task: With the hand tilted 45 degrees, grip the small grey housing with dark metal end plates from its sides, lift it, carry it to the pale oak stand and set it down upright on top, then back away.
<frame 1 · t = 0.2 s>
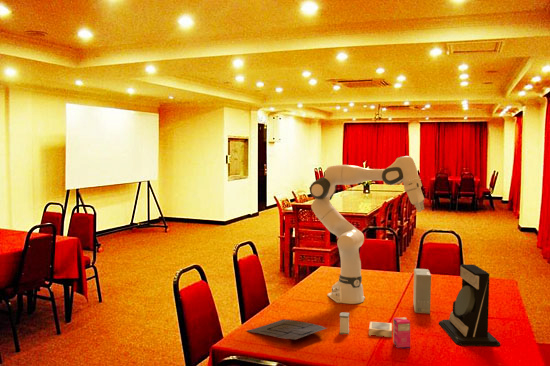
hand: (421, 210, 261), 52 cm above the table, fingers open, 8 cm apart
housing: (344, 332, 229), on the table
award: (467, 334, 228), on the table
supplement box: (401, 346, 213), on the table
dark grey panelled slab: (287, 334, 228), on the table
oak stand: (380, 332, 229), on the table
hard drive box: (421, 309, 264), on the table
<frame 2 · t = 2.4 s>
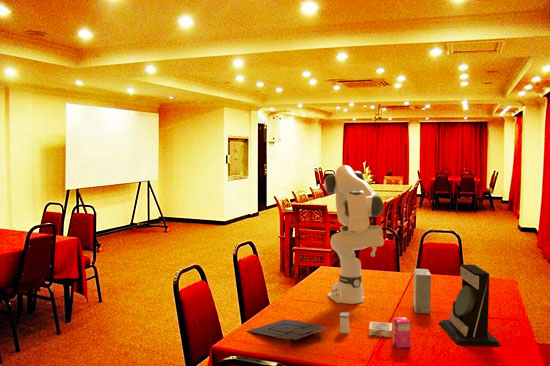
hand: (363, 256, 227), 35 cm above the table, fingers open, 8 cm apart
nothing on the table moved.
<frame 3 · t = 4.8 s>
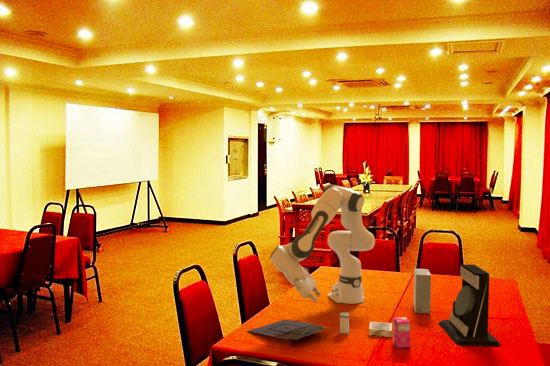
hand: (318, 298, 231), 15 cm above the table, fingers open, 8 cm apart
nothing on the table moved.
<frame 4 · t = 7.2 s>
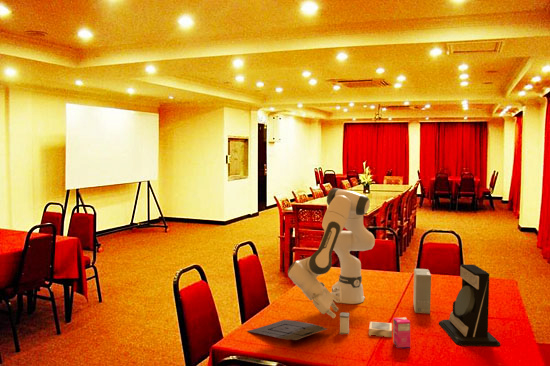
hand: (336, 313, 229), 8 cm above the table, fingers open, 8 cm apart
nothing on the table moved.
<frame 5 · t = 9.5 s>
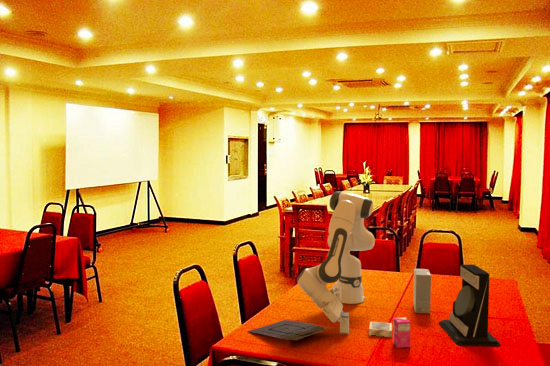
hand: (345, 322, 229), 5 cm above the table, fingers closed on housing, 5 cm apart
housing: (344, 332, 229), on the table, touching gripper
everything else where it was.
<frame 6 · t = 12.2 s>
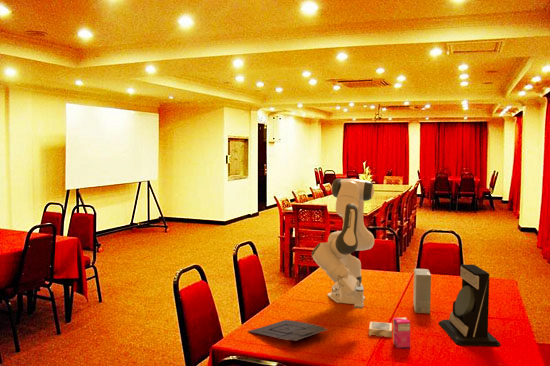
hand: (360, 296, 228), 17 cm above the table, fingers closed on housing, 5 cm apart
housing: (358, 306, 229), point 12 cm above the table, touching gripper
when the fingers open (9 cm above the table, at t = 15.2 s): housing stays where it is, resting on oak stand.
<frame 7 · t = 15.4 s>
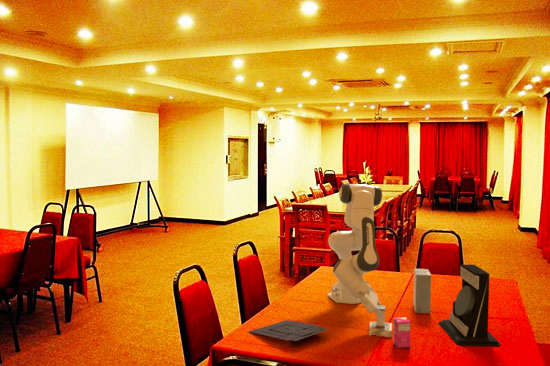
hand: (382, 312, 228), 9 cm above the table, fingers open, 8 cm apart
housing: (380, 325, 229), point 3 cm above the table, touching oak stand
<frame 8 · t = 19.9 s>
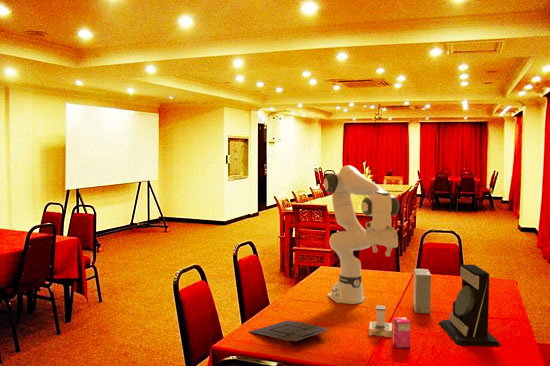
hand: (381, 254, 237), 34 cm above the table, fingers open, 8 cm apart
at the end: housing 0.2 cm from the oak stand (horizontally); housing tilted 0°; housing touching oak stand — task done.
